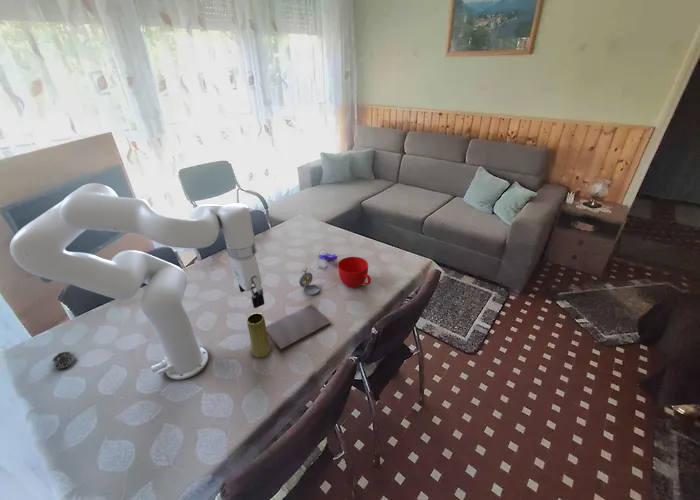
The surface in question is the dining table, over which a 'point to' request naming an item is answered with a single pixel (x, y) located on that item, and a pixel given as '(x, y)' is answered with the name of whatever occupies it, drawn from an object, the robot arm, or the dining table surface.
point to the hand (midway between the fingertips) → (252, 297)
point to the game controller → (328, 257)
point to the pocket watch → (308, 288)
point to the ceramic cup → (353, 271)
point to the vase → (258, 335)
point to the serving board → (296, 327)
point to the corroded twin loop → (62, 360)
